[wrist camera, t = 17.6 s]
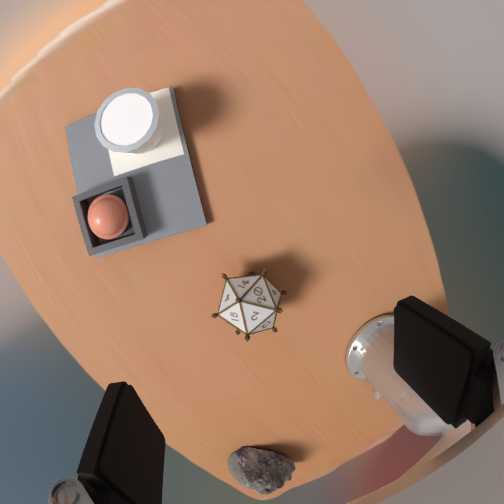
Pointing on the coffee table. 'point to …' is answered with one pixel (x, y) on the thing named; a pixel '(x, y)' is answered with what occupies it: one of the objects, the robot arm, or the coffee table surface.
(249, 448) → the mineral rock
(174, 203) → the board
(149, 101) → the shot glass
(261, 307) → the game die
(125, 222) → the dome
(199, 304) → the coffee table surface
